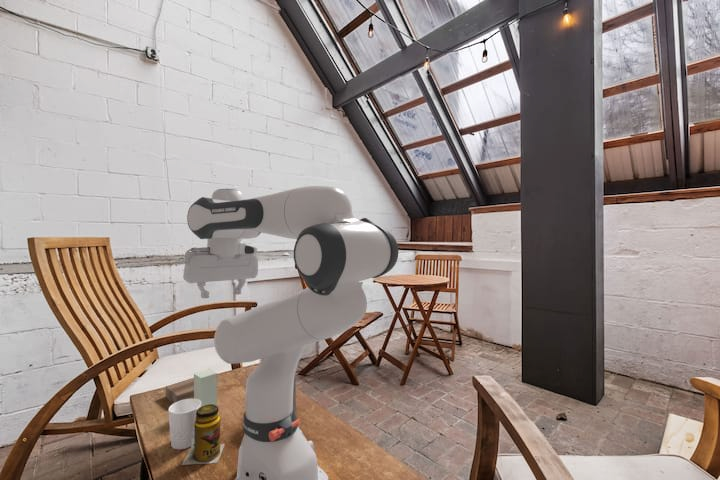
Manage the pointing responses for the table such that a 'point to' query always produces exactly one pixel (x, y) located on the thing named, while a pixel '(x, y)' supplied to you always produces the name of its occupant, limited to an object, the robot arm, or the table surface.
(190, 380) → the walnut base
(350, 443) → the table surface
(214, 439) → the condiment
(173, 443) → the white cup
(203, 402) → the sage block
